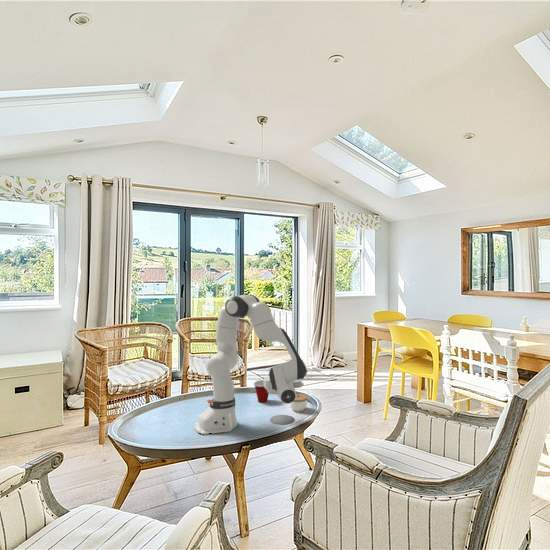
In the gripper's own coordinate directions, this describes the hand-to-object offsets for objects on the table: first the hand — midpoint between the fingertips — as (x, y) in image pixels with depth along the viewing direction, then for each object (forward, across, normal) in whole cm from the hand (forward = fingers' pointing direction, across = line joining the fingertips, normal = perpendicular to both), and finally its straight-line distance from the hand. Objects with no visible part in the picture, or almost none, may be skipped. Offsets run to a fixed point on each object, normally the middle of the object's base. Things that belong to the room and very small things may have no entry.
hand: (281, 378), depth 202 cm
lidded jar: (+13, -12, +23) cm, 28 cm away
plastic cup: (+30, +8, +23) cm, 39 cm away
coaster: (-1, -1, +23) cm, 23 cm away
